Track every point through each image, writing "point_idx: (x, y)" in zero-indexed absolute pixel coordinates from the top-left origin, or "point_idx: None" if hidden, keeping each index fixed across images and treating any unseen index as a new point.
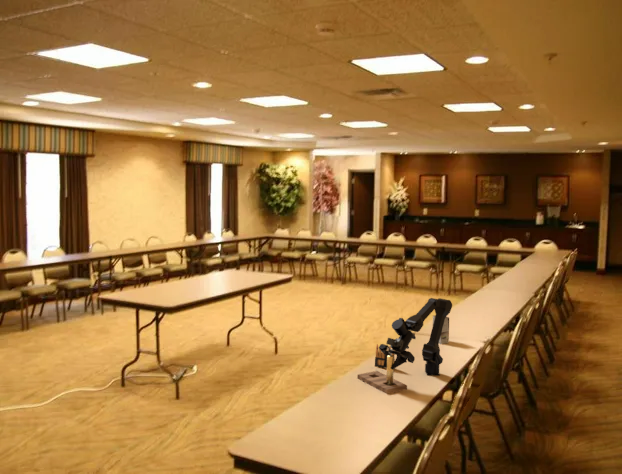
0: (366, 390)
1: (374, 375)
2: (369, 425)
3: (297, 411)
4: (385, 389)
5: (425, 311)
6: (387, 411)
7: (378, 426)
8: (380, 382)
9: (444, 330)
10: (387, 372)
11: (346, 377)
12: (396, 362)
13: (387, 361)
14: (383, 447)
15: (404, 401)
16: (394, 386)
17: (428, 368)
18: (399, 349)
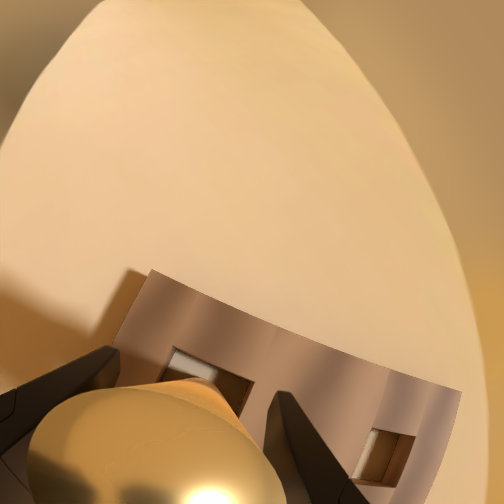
0: (296, 257)
1: (391, 483)
2: (123, 43)
3: (325, 41)
4: (165, 277)
5: None
6: (89, 110)
7: (100, 50)
8: (272, 382)
9: None
10: (202, 382)
11: (477, 357)
12: (10, 399)
13: (211, 397)
14: (79, 25)
15: (36, 232)
16: (130, 365)
17: None
18: None
